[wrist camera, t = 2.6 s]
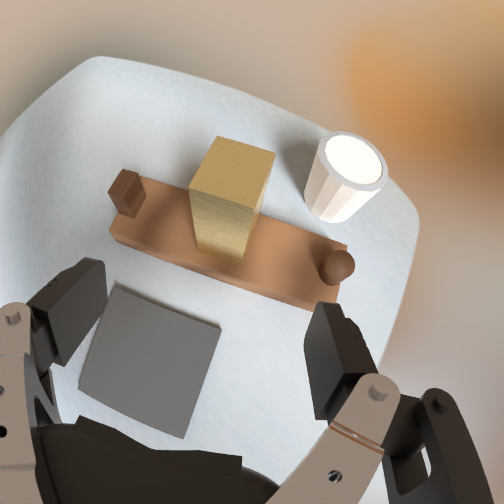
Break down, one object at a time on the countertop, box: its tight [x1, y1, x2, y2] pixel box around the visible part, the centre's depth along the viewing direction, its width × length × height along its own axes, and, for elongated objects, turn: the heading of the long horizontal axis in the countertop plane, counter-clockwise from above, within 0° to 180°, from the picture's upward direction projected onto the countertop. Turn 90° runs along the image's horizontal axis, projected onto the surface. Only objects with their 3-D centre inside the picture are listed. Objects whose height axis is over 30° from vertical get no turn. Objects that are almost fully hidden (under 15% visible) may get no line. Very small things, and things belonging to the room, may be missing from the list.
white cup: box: [304, 131, 388, 223], centre depth 25 cm, size 7×7×7 cm
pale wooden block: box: [188, 136, 276, 266], centre depth 19 cm, size 4×4×9 cm
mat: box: [78, 287, 222, 439], centre depth 21 cm, size 10×10×1 cm
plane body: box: [108, 169, 355, 312], centre depth 23 cm, size 20×6×6 cm, turn 72°
